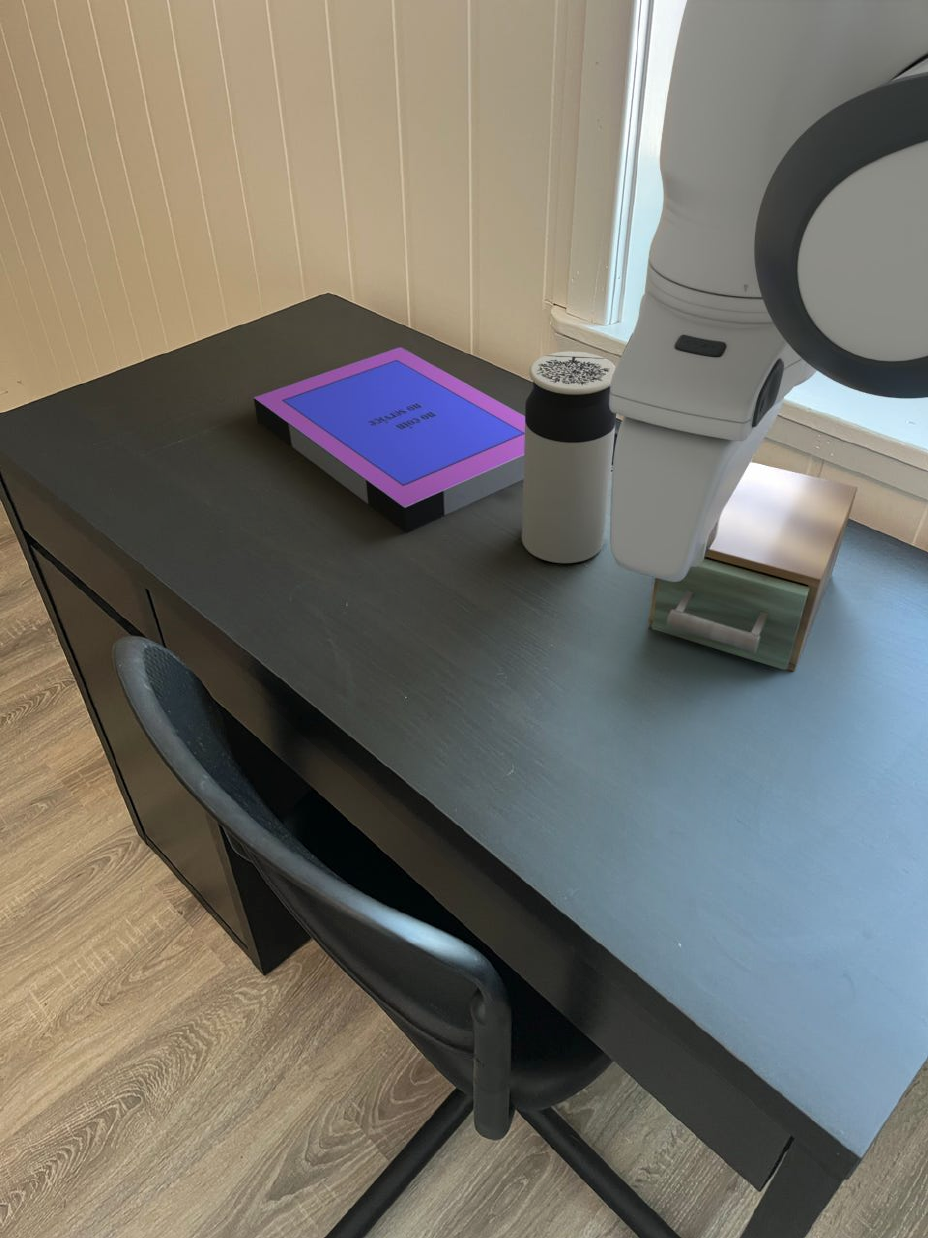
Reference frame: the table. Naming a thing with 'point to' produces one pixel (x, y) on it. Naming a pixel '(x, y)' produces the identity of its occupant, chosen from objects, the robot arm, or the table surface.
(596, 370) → the travel mug
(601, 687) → the table surface
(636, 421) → the robot arm
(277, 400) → the book
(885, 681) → the table surface
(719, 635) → the drawer
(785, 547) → the cabinet
